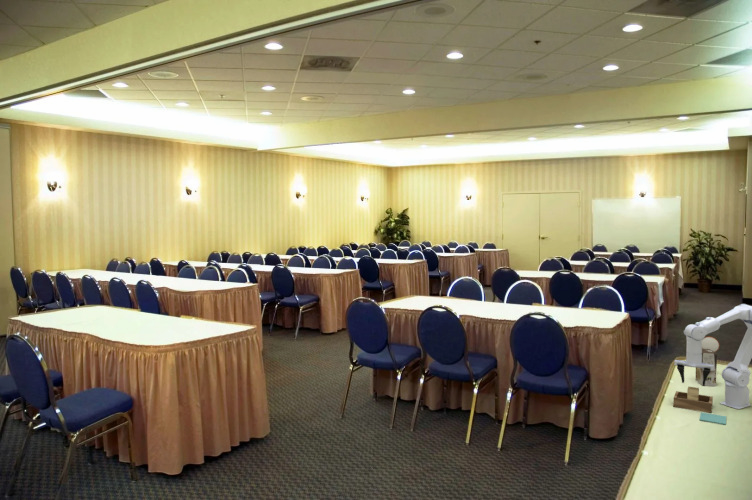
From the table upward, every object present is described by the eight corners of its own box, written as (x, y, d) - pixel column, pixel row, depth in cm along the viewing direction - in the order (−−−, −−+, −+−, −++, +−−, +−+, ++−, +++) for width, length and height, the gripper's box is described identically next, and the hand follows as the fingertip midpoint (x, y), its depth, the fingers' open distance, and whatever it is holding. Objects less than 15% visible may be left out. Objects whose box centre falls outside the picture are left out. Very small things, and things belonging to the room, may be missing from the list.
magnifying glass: (719, 375, 276) (720, 337, 274) (718, 376, 275) (719, 337, 273) (699, 373, 281) (700, 335, 280) (699, 373, 280) (700, 335, 278)
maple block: (688, 399, 238) (688, 386, 238) (698, 401, 236) (698, 387, 236) (687, 402, 235) (687, 389, 235) (697, 404, 233) (698, 390, 232)
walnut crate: (675, 399, 244) (676, 391, 244) (712, 405, 236) (712, 396, 236) (673, 406, 236) (673, 397, 236) (711, 413, 228) (711, 403, 228)
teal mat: (700, 413, 228) (700, 412, 228) (726, 417, 223) (726, 416, 223) (699, 420, 220) (699, 419, 220) (725, 425, 215) (725, 423, 215)
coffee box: (716, 386, 260) (717, 353, 259) (701, 385, 262) (702, 353, 260) (709, 380, 269) (709, 348, 268) (694, 380, 270) (695, 348, 269)
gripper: (673, 352, 235) (673, 383, 236) (713, 357, 226) (712, 389, 227) (675, 349, 240) (675, 379, 241) (714, 353, 232) (713, 384, 233)
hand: (693, 383), depth 235 cm, fingers open, 7 cm apart
